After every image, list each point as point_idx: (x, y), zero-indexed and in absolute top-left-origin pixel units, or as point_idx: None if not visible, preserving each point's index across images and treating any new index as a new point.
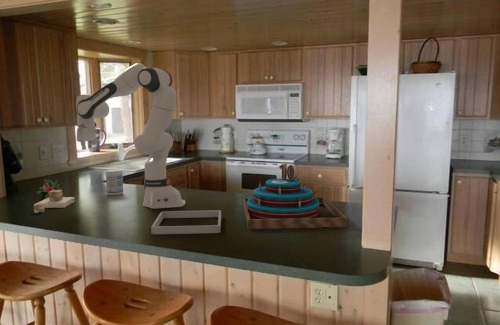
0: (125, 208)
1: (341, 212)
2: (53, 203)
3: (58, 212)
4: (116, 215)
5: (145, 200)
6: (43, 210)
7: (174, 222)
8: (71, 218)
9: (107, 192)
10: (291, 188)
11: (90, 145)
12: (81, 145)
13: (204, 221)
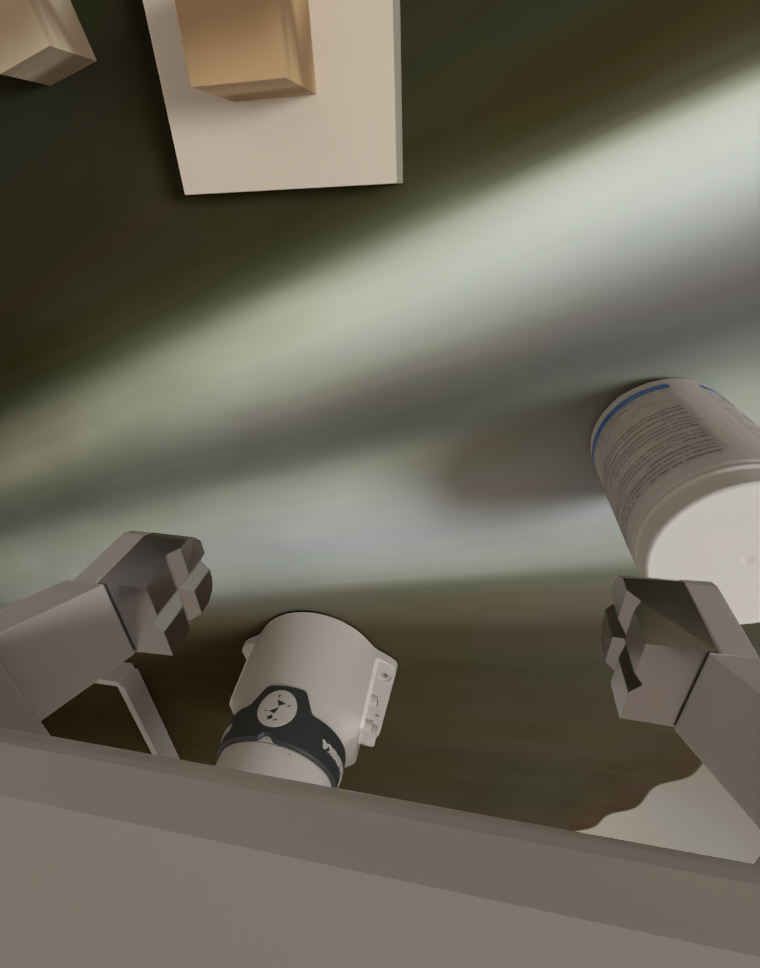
0: (237, 552)
1: None
2: (165, 88)
3: (81, 219)
4: (118, 536)
5: (270, 643)
6: (52, 77)
7: (97, 687)
8: (9, 360)
9: (629, 396)
10: None
11: (619, 694)
12: (24, 601)
13: (130, 741)
